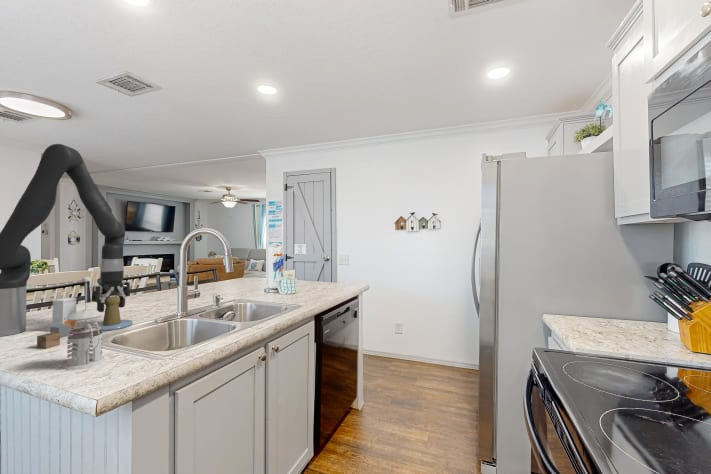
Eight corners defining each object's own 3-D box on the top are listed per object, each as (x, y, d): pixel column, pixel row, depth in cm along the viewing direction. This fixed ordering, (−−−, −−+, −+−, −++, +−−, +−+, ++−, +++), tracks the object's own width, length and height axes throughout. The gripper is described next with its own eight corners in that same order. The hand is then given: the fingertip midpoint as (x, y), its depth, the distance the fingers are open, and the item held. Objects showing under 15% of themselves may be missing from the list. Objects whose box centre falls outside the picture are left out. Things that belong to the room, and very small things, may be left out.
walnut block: (36, 348, 105) (37, 335, 105) (51, 344, 109) (51, 332, 109) (46, 349, 104) (46, 336, 104) (59, 345, 108) (60, 333, 108)
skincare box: (62, 331, 123) (63, 300, 123) (51, 331, 123) (52, 300, 123) (76, 327, 129) (76, 297, 129) (66, 327, 129) (66, 297, 129)
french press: (97, 354, 100) (98, 274, 100) (115, 362, 94) (116, 276, 94) (56, 365, 92) (57, 277, 92) (73, 374, 86) (74, 280, 86)
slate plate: (79, 329, 126) (79, 327, 126) (114, 320, 139) (114, 318, 139) (108, 332, 122) (108, 330, 122) (140, 323, 136) (140, 320, 136)
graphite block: (50, 337, 116) (50, 326, 116) (62, 334, 120) (62, 323, 120) (58, 338, 115) (58, 327, 115) (70, 335, 119) (71, 324, 119)
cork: (124, 322, 134) (125, 295, 134) (112, 326, 128) (112, 298, 128) (111, 321, 134) (111, 295, 134) (98, 325, 128) (98, 298, 128)
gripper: (121, 267, 139) (120, 305, 139) (86, 271, 125) (85, 312, 125) (135, 268, 137) (134, 306, 137) (102, 271, 123) (101, 314, 123)
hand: (111, 309), depth 131 cm, fingers open, 8 cm apart
